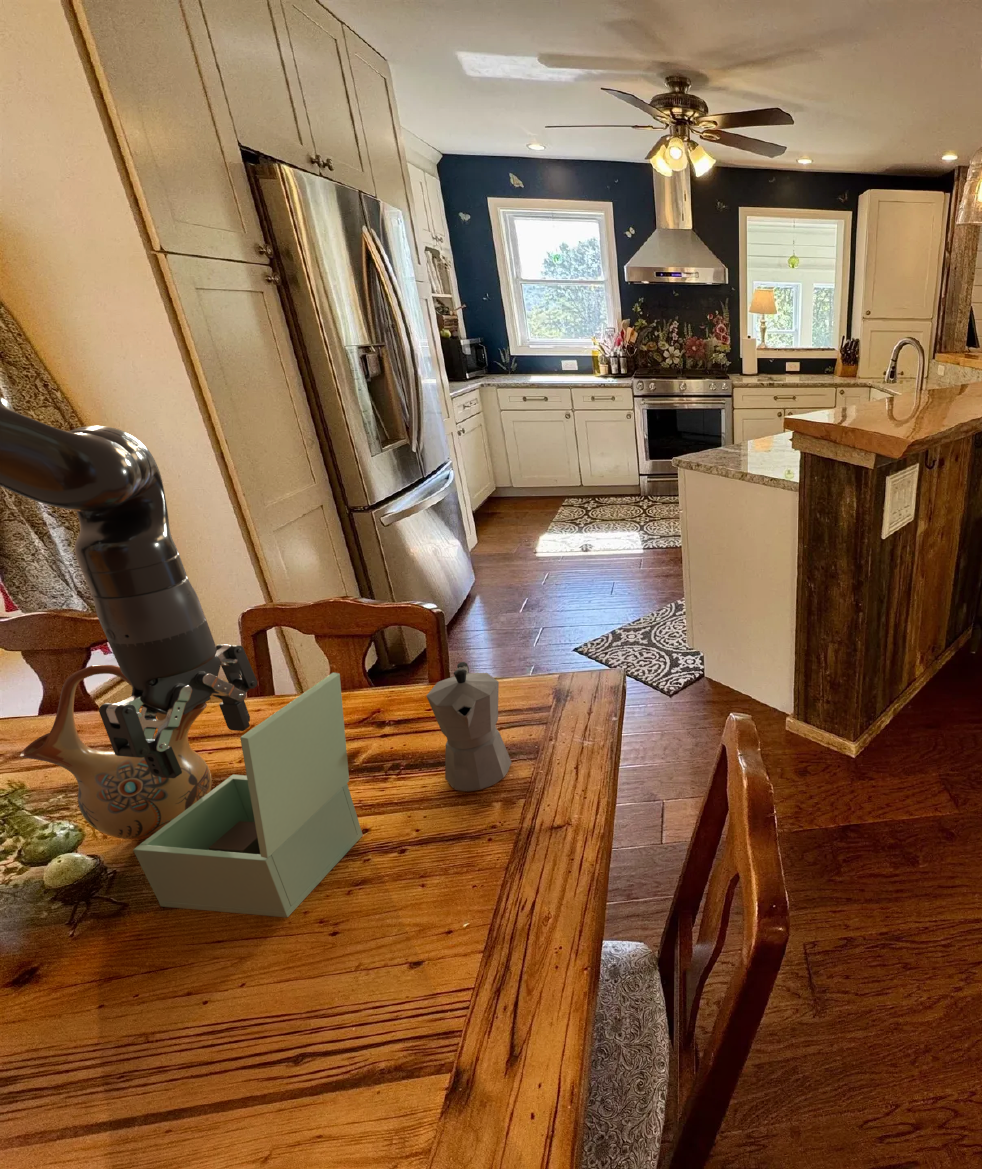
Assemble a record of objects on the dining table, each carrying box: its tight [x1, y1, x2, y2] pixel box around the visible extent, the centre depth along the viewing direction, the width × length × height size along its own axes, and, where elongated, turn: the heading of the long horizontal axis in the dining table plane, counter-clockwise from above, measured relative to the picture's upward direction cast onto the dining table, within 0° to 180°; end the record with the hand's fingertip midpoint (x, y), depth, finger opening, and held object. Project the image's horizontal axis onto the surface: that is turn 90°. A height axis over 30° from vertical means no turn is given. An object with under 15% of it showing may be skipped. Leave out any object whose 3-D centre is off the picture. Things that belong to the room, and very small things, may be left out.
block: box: [209, 821, 260, 854], centre depth 77 cm, size 4×4×4 cm
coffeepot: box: [426, 661, 513, 792], centre depth 93 cm, size 15×9×18 cm, turn 26°
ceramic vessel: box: [19, 664, 213, 841], centre depth 78 cm, size 16×9×25 cm, turn 131°
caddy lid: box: [239, 672, 350, 858], centre depth 70 cm, size 16×13×1 cm
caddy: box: [132, 774, 364, 918], centre depth 76 cm, size 16×13×9 cm
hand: (207, 750), depth 71 cm, fingers open, 8 cm apart
